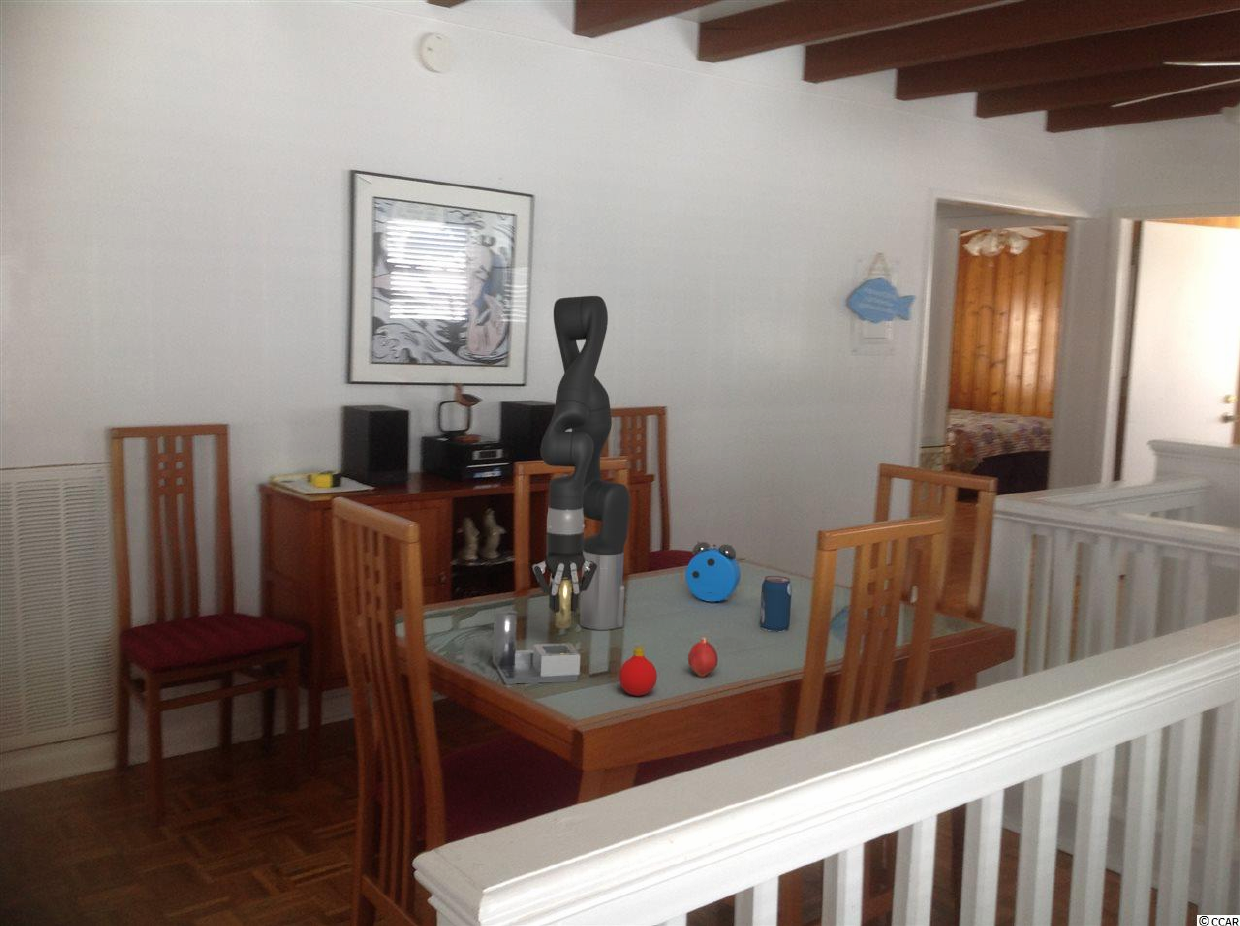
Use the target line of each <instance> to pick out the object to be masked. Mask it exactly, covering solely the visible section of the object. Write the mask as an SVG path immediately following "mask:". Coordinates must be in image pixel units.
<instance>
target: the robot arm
mask: <svg viewBox="0 0 1240 926" xmlns="http://www.w3.org/2000/svg"><path fill="white" fill-rule="evenodd" d="M553 322H554V323H553V324H554V330H555V334H556V339H557V344H558V349H559V355H560V357H561V358H560V359H561V363H562V368H563V375H562V376H561V378H560V380H559V383H558V386H557V389H556V396H555V397H556V399H555V404H554V411H553V415H552V418H551V420H550V423H549V425H548V427H547V429H546V431H545V434H544V435H543V438H542V441H541V444H540V455H541V456H540V457H541V459H542V461H543V462H544V463H545V464H546V465H548V466H551V467H554V466H555V467H574V470H573V472H572V474H569V475H565V476H560V477H559V476H558V477H555V478H553V479H551V480H550V482H549V483H548V484H549V485H548V509H547V510H548V511H547V519H546V555H545V557H544V559H543V561H542V562H539V563H537V564H536V563H533V564H532V565H531V568H532V572H533V574H534V576H535V578H536V581H537V583H538V586H539V588H540V590H541V591H542V592H543V593H545V594H549V597H548V601H549V602H548V604H549V605H548V606H549V609H550V610H551V611H552V612H553V613H555V614H556V613H558V595H557V592H558V587H559V585H560V581H561V579H563V578H572V609H571V613H573V612H576V609H578V608H579V601H580V608H579V609H580V613H579V625H580V626H581V627H583V628H585V629H589V630H598V631H599V630H600V631H605V630H606V631H607V630H613V629H614V630H615V629H618V628H623V627H624V626H623V625H624V623H623V622H624V606H625V585H623V571H624V569H623V568H624V567H623V566H624V550H625V549H624V548H625V544H626V541H627V538H628V531H629V519H630V511H631V496H630V493H629V490H628V488H627V486H626V485H625V484H623V483H619V482H615V481H609V480H608V481H607V480H603V478H602V474H601V473H602V472H601V455H602V452H603V449H604V446H605V445H606V443H607V441H608V438H609V436H610V433H611V430H612V427H613V426H612V425H613V419H612V410H611V409H612V408H611V403H610V397H609V396H610V395H609V394H608V392H607V390H606V388H605V387H604V385H603V384H602V383H601V382H600V380H599V379H598V378H597V377H596V375H595V374H596V370H597V367H598V364H599V362H600V357H601V354H602V350H603V346H604V342H605V340H606V334H607V331H608V324H609V315H608V308H607V304H606V302H605V300H604V298H602V297H601V296H599V295H584V296H572V297H571V296H570V297H562V298H558V299H557V300H556V301H555V302H554V306H553ZM577 341H585V342H584V344H583V346H582V349H581V350H579V345H578V343H577ZM569 430H571V431H569ZM585 518H586V519H588V520H592V521H597V522H600V528H599V531H598V532H597V533H596V534H592V535H589V536H586V537H585V535H584V533H585V532H584V531H585ZM584 537H585V538H584ZM546 568H547V569H548V571H549V572H550V577H549V578H550V579H549V585H548V584H547V581H546V578H545V576H544V575H543V574H544V573H545V571H546ZM580 571H581V579H580V581H579V577H578V574H579V572H580ZM580 593H581V594H580ZM579 595H580V597H579ZM579 599H580V600H579Z"/></svg>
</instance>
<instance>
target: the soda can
mask: <svg viewBox="0 0 1240 926" xmlns="http://www.w3.org/2000/svg"><path fill="white" fill-rule="evenodd" d="M792 591H793V585H792V583H791V579H790V578H789V577H786V576H783V575H782V576H781V575H780V576H779V575H768V576H765V577H764V581H763V583H762V584H761V597H760V609H759V611H760V612H759V625H760V627H761V629H762V628H764V629H767V630H771V631H783V630H786V629H788V628H789V626H790V621H791V608H792V607H791V606H792V595H793V594H792V593H793V592H792ZM764 629H763V630H764ZM786 631H787V630H786Z"/></svg>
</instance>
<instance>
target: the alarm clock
mask: <svg viewBox="0 0 1240 926" xmlns="http://www.w3.org/2000/svg"><path fill="white" fill-rule="evenodd" d="M691 550H692V554H693V555H694V556H693V557H692V558H691V559H690V561H689V562H688V564H687V566H686V569H685V581H686V584H687V587H688V589H689V591H690V592H691V594H692V595H694V596H695V597H696V598H697V599H699V600H701V599H702V600H701V601H703V600H709V601H718V602H721V601H723V600H725V598H727V599H728V597H729V596H730V595H732V594H733V592H735V591H736V589H737V588H738V586H739V583H740V581H741V568H740V565H739V563H738V561H737V559H736V557H737V550H736V549H735V547H734V546H733V544H731V545H730V544H729V543H723V544H720V546H719V547H718V545H717V544H712V546H711V544H710V543H709V542H708V541H697V543H695V544H694V545H693V547H692V549H691Z"/></svg>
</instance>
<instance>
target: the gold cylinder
mask: <svg viewBox="0 0 1240 926" xmlns="http://www.w3.org/2000/svg"><path fill="white" fill-rule="evenodd" d="M557 595H558V613H555V628H558V629H569V628H571V627H572V611H571V609H572V578H563V579H561V581H560V585H559V587H558V592H557Z"/></svg>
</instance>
